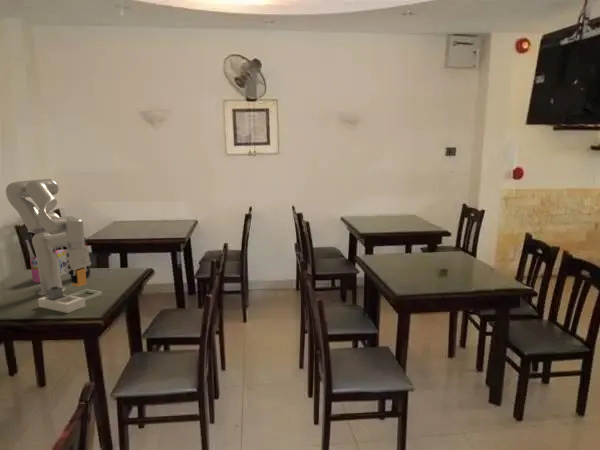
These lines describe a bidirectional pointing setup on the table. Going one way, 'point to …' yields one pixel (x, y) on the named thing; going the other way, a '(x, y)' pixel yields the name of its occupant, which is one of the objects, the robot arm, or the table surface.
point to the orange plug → (80, 277)
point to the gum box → (62, 263)
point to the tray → (95, 293)
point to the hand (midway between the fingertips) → (79, 280)
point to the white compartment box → (62, 303)
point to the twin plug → (54, 293)
